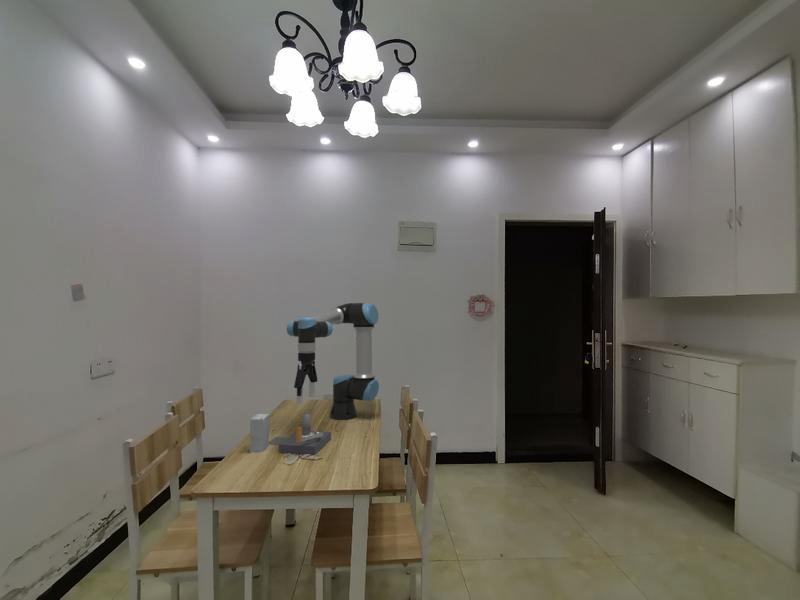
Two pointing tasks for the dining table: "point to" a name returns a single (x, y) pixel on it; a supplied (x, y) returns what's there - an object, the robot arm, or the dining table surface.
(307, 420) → the plug
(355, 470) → the dining table surface
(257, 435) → the skincare box
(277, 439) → the pad
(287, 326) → the robot arm
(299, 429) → the clip
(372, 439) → the dining table surface
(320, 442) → the socket block
